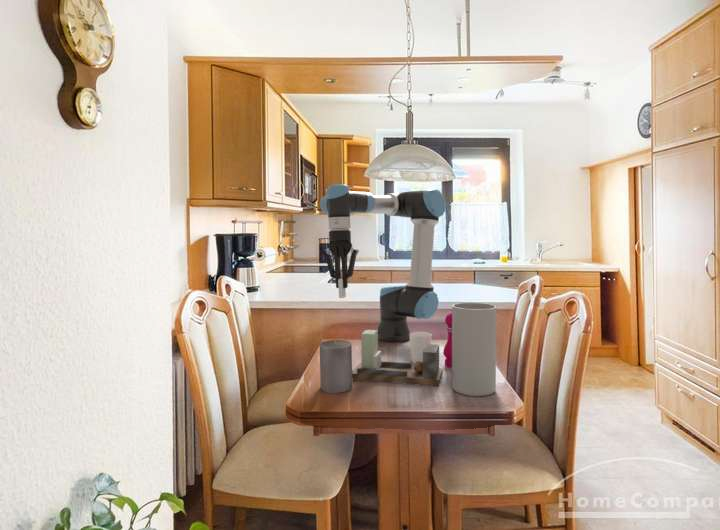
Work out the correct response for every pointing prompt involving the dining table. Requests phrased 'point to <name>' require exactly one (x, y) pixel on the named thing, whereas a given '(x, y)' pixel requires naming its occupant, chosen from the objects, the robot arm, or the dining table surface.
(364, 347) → the block
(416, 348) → the white cup
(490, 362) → the cylinder vase
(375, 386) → the dining table surface
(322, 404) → the dining table surface
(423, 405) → the dining table surface
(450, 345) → the pink bowling pin
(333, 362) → the pillar candle
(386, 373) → the press bench
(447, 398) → the dining table surface
